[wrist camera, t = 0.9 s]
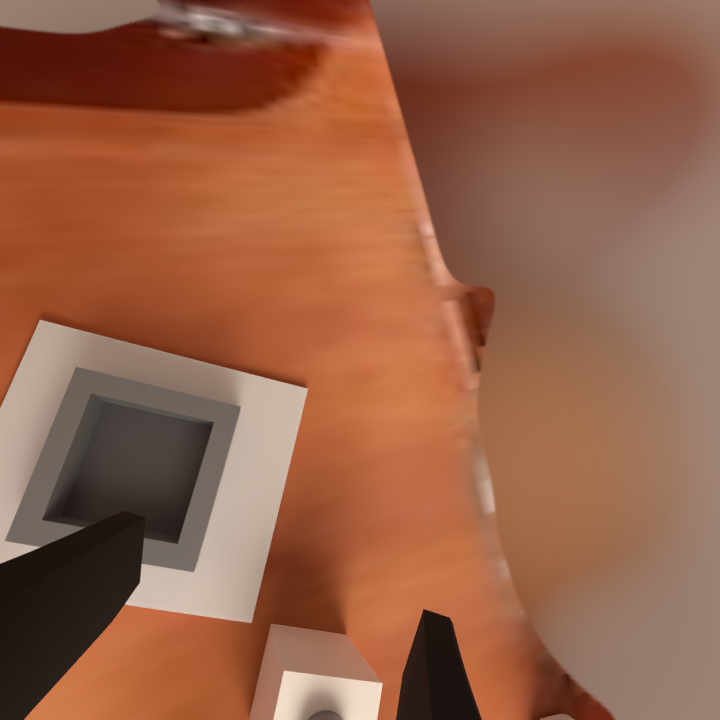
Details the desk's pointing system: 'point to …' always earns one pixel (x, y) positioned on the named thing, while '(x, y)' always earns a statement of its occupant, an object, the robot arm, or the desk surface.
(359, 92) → the desk surface
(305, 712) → the block
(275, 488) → the socket dock
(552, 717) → the eye dropper bottle
